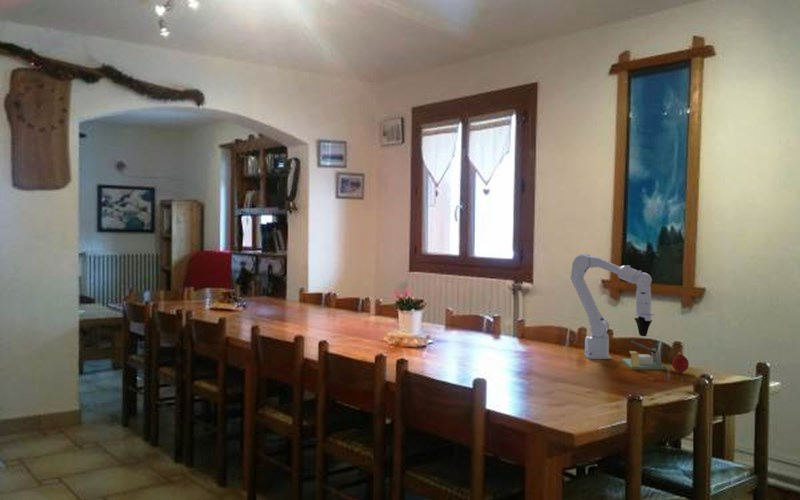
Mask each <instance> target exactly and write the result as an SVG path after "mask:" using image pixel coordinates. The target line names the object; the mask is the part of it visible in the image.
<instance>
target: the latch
mask: <svg viewBox="0 0 800 500" xmlns="http://www.w3.org/2000/svg"><path fill="white" fill-rule="evenodd" d="M629 354H630V359H631V366H632V367H639V355H638V354H639V353H638V352H637V351H636V350H635V351H633V350H629Z"/></svg>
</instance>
